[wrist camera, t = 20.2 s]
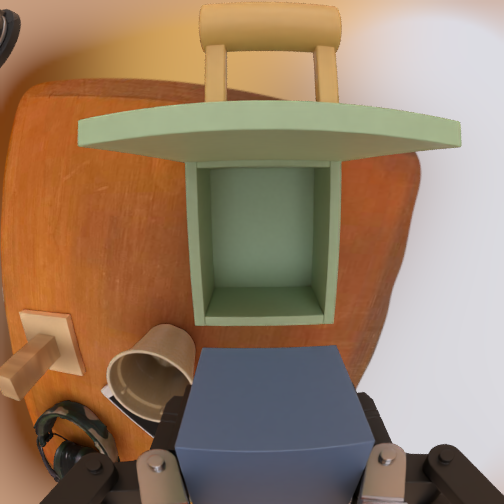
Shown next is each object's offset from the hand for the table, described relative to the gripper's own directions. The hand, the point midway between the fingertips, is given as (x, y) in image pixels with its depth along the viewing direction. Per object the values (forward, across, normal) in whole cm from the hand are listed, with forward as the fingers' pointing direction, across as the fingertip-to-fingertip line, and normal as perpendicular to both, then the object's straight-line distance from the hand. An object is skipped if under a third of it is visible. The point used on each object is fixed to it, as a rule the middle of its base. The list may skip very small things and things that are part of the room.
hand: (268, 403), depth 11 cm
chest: (+22, 0, -3) cm, 22 cm away
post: (+22, +29, +12) cm, 38 cm away
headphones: (+22, +30, +32) cm, 49 cm away
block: (0, 0, 0) cm, 0 cm away
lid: (+6, 0, -10) cm, 11 cm away
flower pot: (+22, +11, +11) cm, 27 cm away
